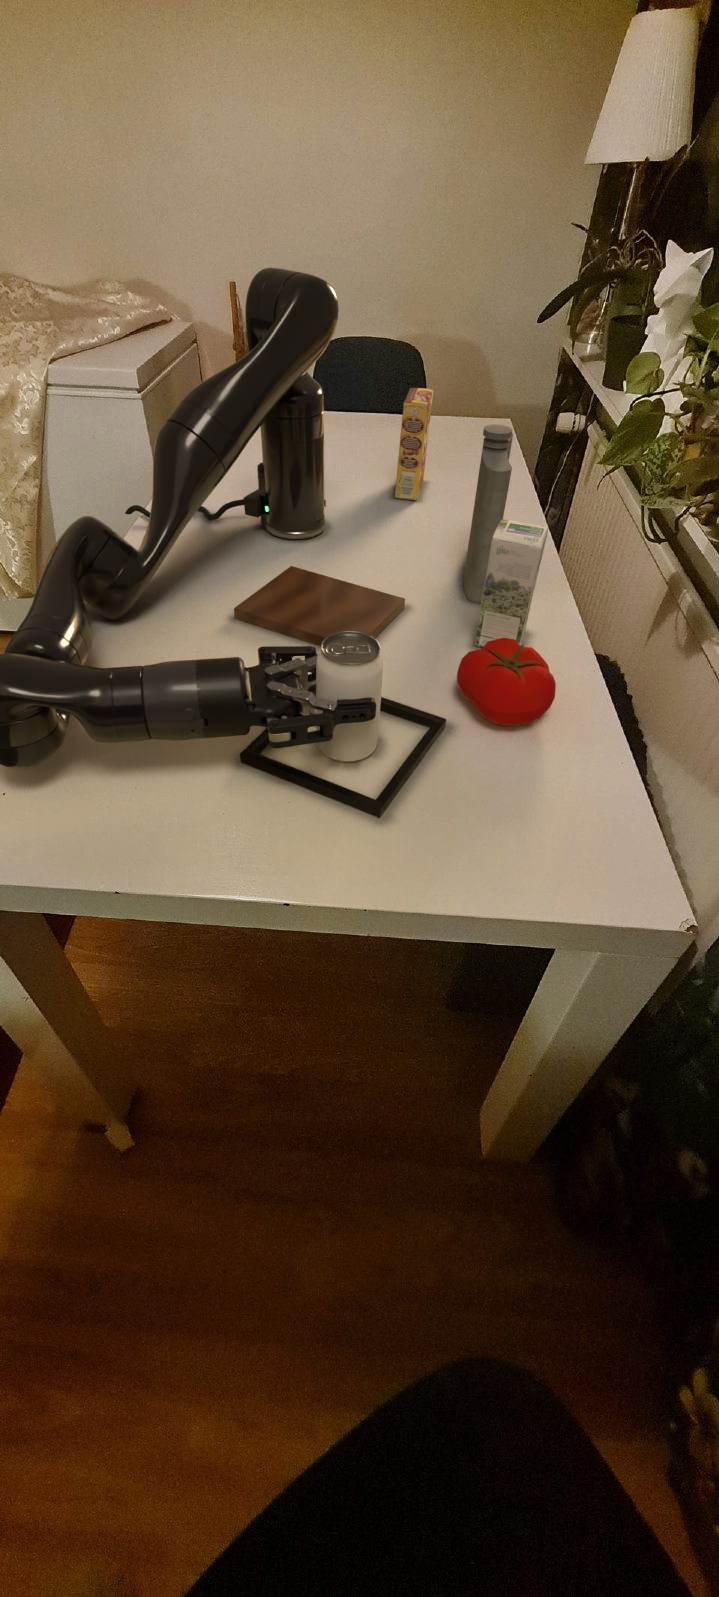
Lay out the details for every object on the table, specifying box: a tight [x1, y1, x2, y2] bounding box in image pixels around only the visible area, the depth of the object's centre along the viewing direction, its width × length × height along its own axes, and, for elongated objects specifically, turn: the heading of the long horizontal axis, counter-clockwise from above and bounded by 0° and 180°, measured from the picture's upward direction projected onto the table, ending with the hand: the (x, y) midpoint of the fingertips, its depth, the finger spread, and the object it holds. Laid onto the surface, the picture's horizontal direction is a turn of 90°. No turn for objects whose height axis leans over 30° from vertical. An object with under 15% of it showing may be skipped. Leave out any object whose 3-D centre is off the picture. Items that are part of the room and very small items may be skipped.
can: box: [315, 631, 384, 763], centre depth 71 cm, size 6×6×12 cm
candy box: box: [394, 387, 434, 501], centre depth 120 cm, size 9×4×15 cm, turn 169°
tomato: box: [456, 638, 557, 727], centre depth 78 cm, size 10×11×6 cm
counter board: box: [233, 565, 406, 647], centre depth 94 cm, size 18×14×2 cm
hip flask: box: [463, 424, 514, 604], centre depth 96 cm, size 16×4×20 cm, turn 170°
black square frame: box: [239, 684, 447, 819], centre depth 74 cm, size 16×16×1 cm
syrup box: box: [474, 518, 549, 648], centre depth 86 cm, size 6×6×14 cm
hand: (367, 687), depth 70 cm, fingers closed on can, 6 cm apart
